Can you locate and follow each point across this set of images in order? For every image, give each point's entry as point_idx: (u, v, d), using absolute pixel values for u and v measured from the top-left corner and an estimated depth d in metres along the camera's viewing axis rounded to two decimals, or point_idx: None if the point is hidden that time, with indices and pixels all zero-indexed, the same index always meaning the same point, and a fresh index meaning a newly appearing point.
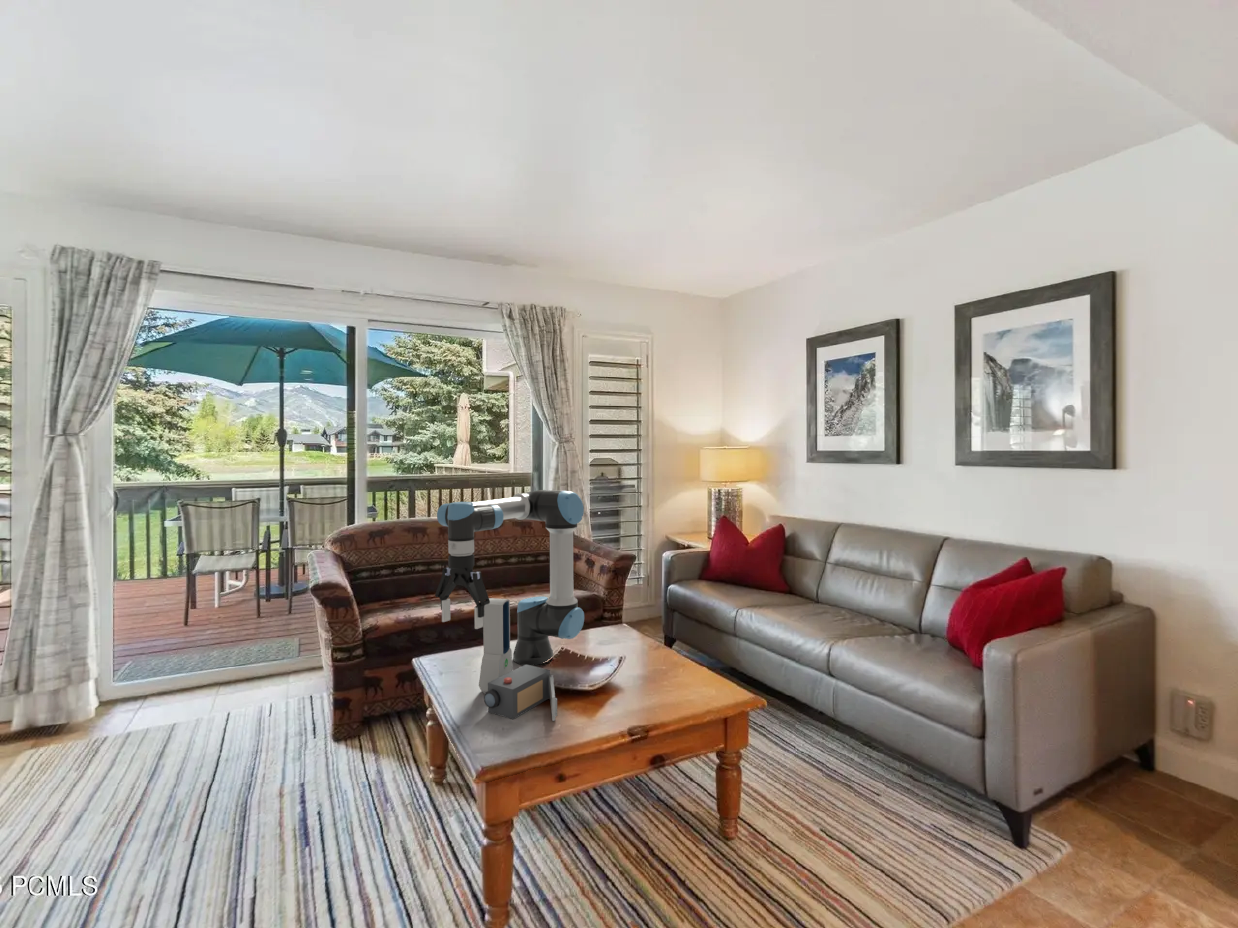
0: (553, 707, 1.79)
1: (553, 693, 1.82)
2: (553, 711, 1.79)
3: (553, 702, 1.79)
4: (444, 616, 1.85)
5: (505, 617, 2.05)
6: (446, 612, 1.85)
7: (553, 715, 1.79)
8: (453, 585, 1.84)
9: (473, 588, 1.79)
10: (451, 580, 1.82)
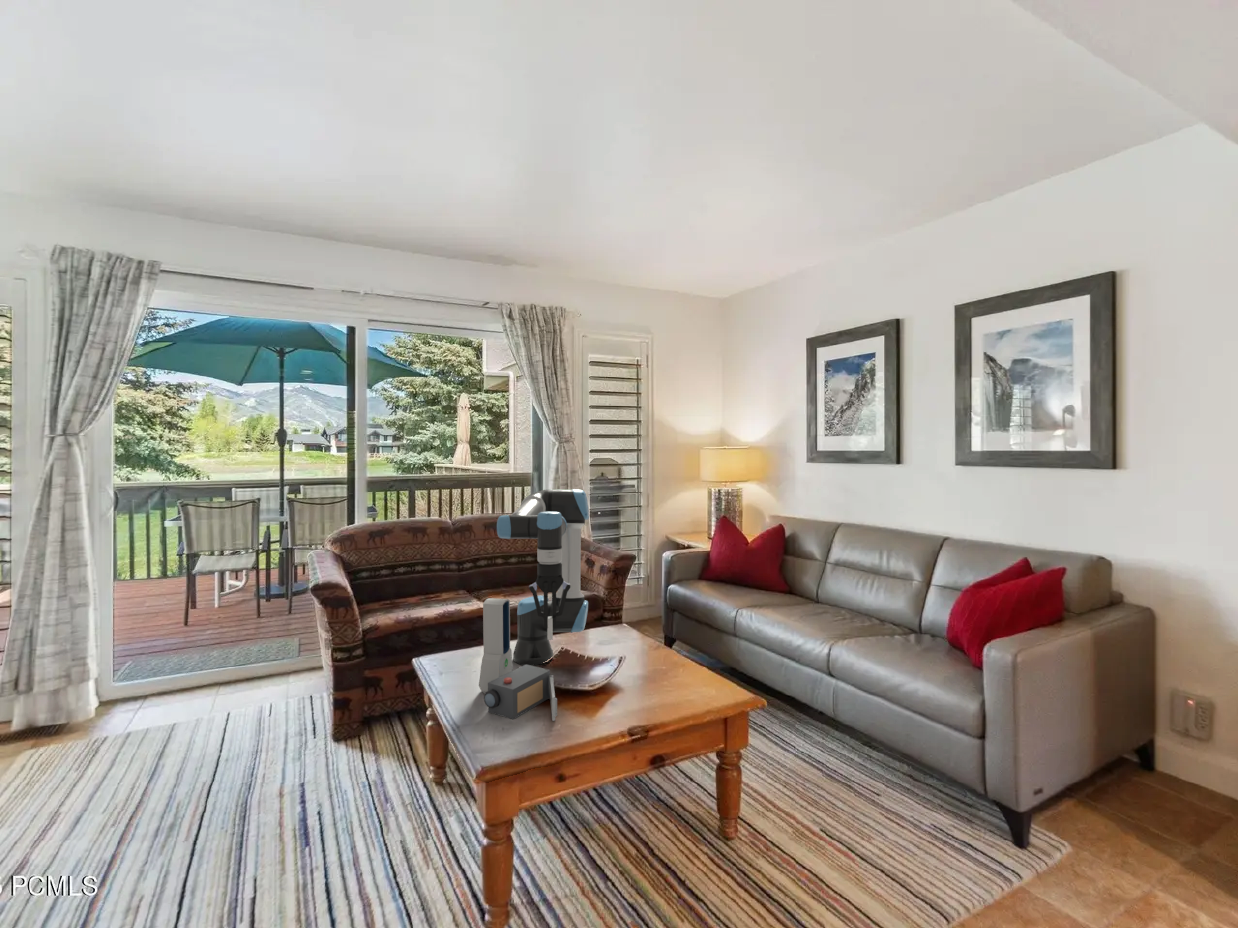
0: (553, 707, 1.79)
1: (553, 693, 1.82)
2: (553, 711, 1.79)
3: (553, 702, 1.79)
4: None
5: (505, 617, 2.05)
6: None
7: (553, 715, 1.79)
8: None
9: (555, 598, 1.87)
10: (546, 590, 1.85)
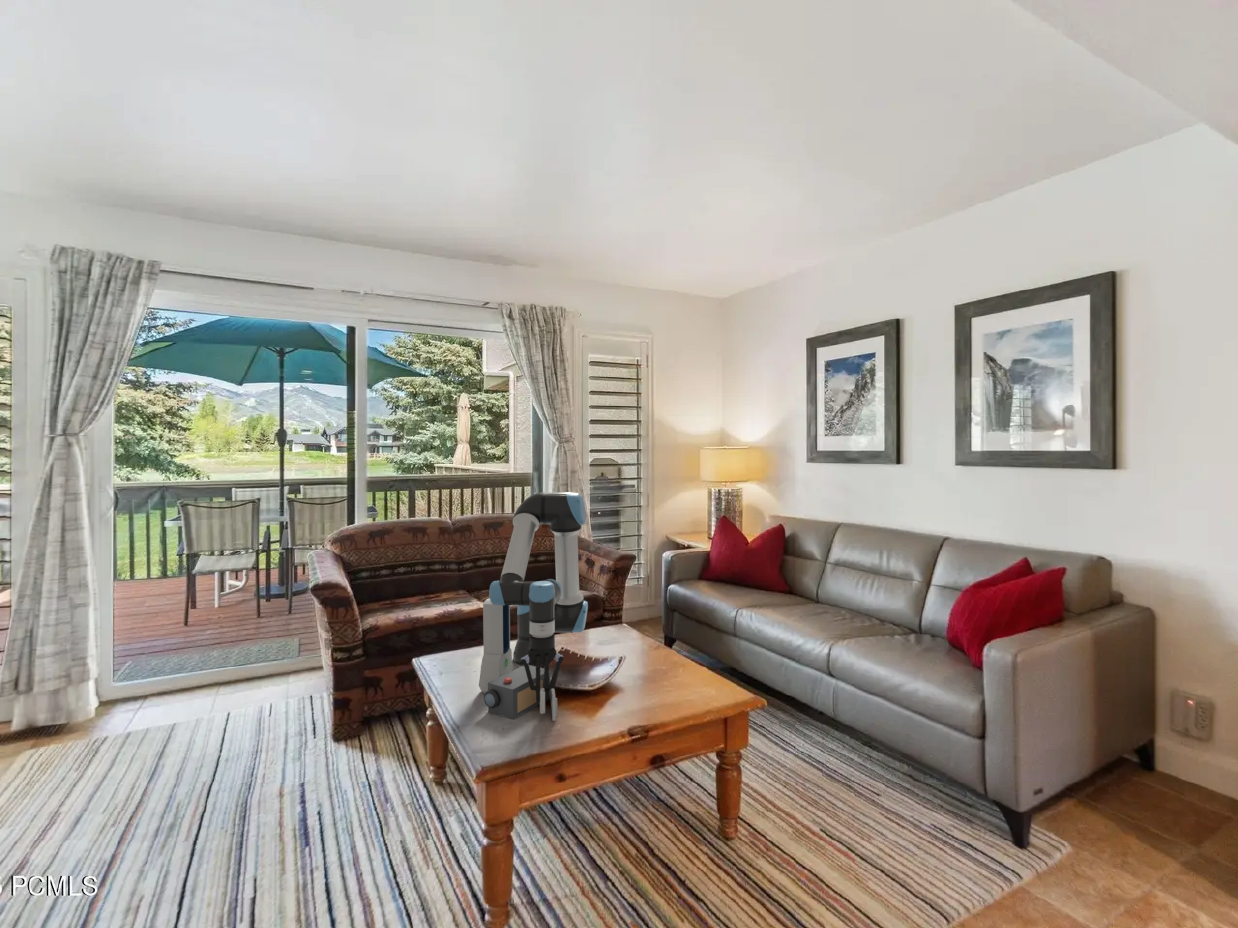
0: (553, 707, 1.79)
1: (553, 693, 1.82)
2: (553, 711, 1.79)
3: (553, 702, 1.79)
4: None
5: (505, 617, 2.05)
6: None
7: (553, 715, 1.79)
8: None
9: None
10: (538, 663, 1.81)
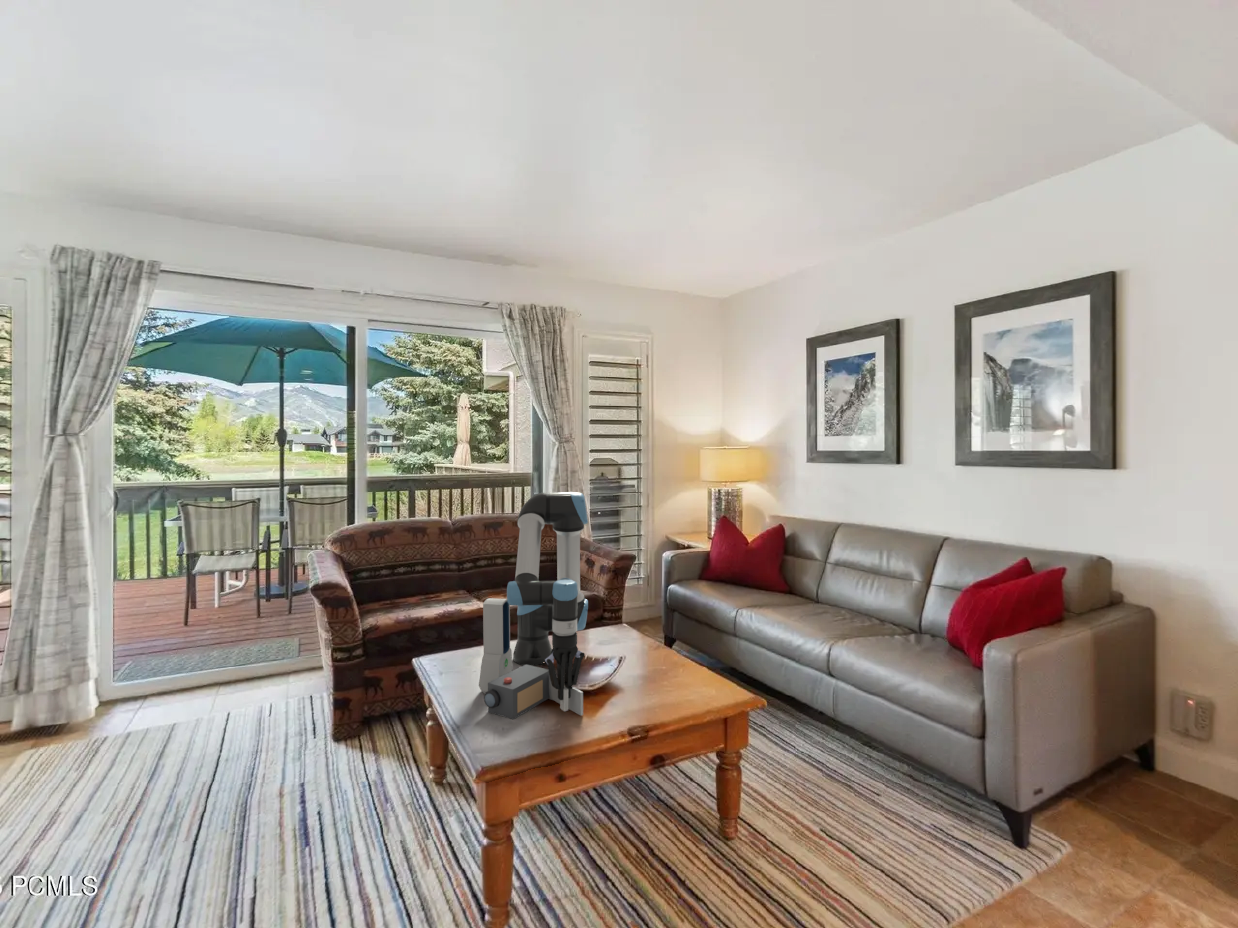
0: (581, 702, 1.83)
1: (576, 689, 1.85)
2: (581, 706, 1.83)
3: (581, 697, 1.83)
4: None
5: (505, 617, 2.05)
6: None
7: (581, 709, 1.83)
8: None
9: None
10: (563, 662, 1.82)
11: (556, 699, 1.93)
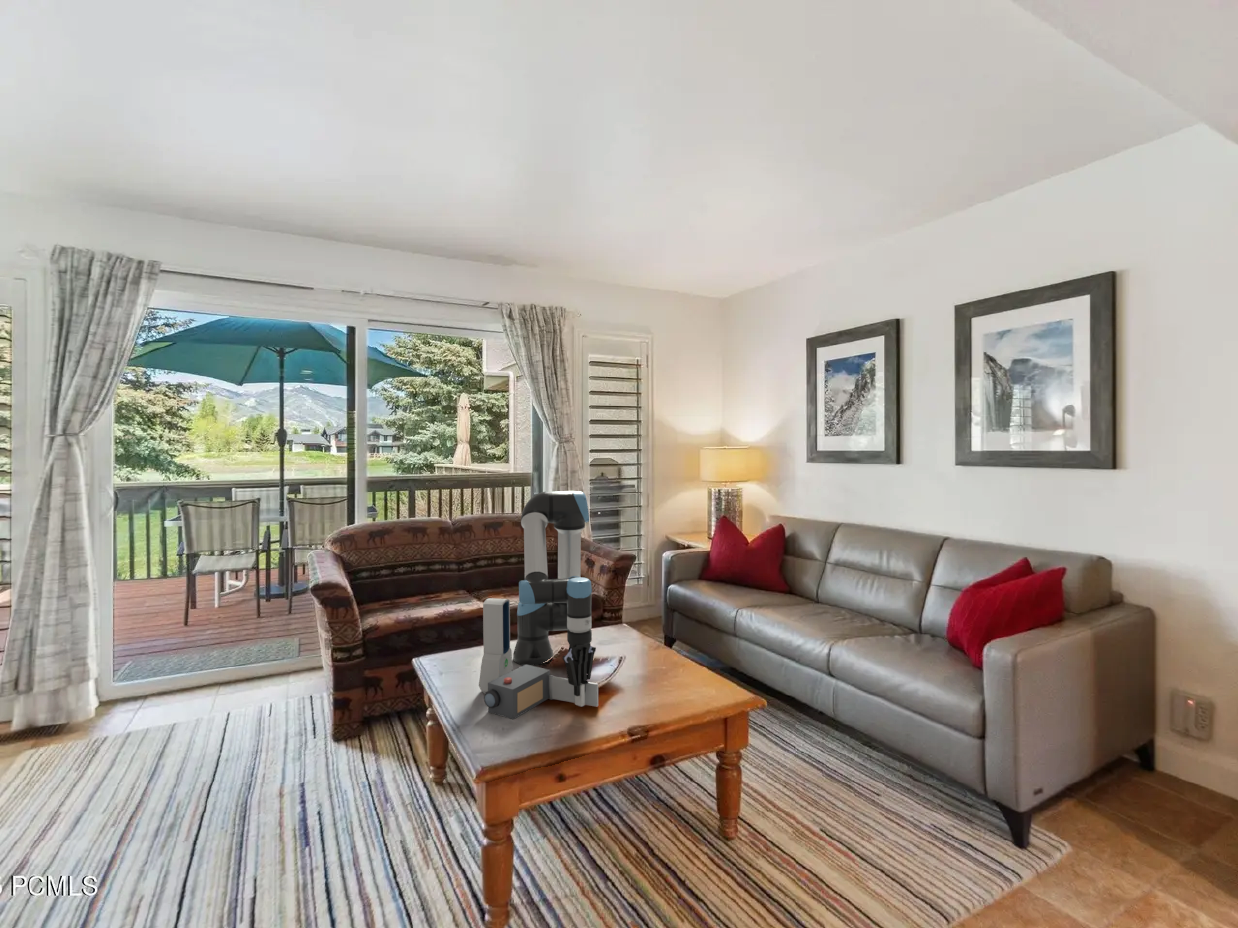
0: (597, 693, 1.89)
1: (589, 682, 1.90)
2: (597, 697, 1.89)
3: (597, 688, 1.89)
4: None
5: (505, 617, 2.05)
6: None
7: (597, 701, 1.89)
8: None
9: None
10: (580, 658, 1.85)
11: (560, 697, 1.94)
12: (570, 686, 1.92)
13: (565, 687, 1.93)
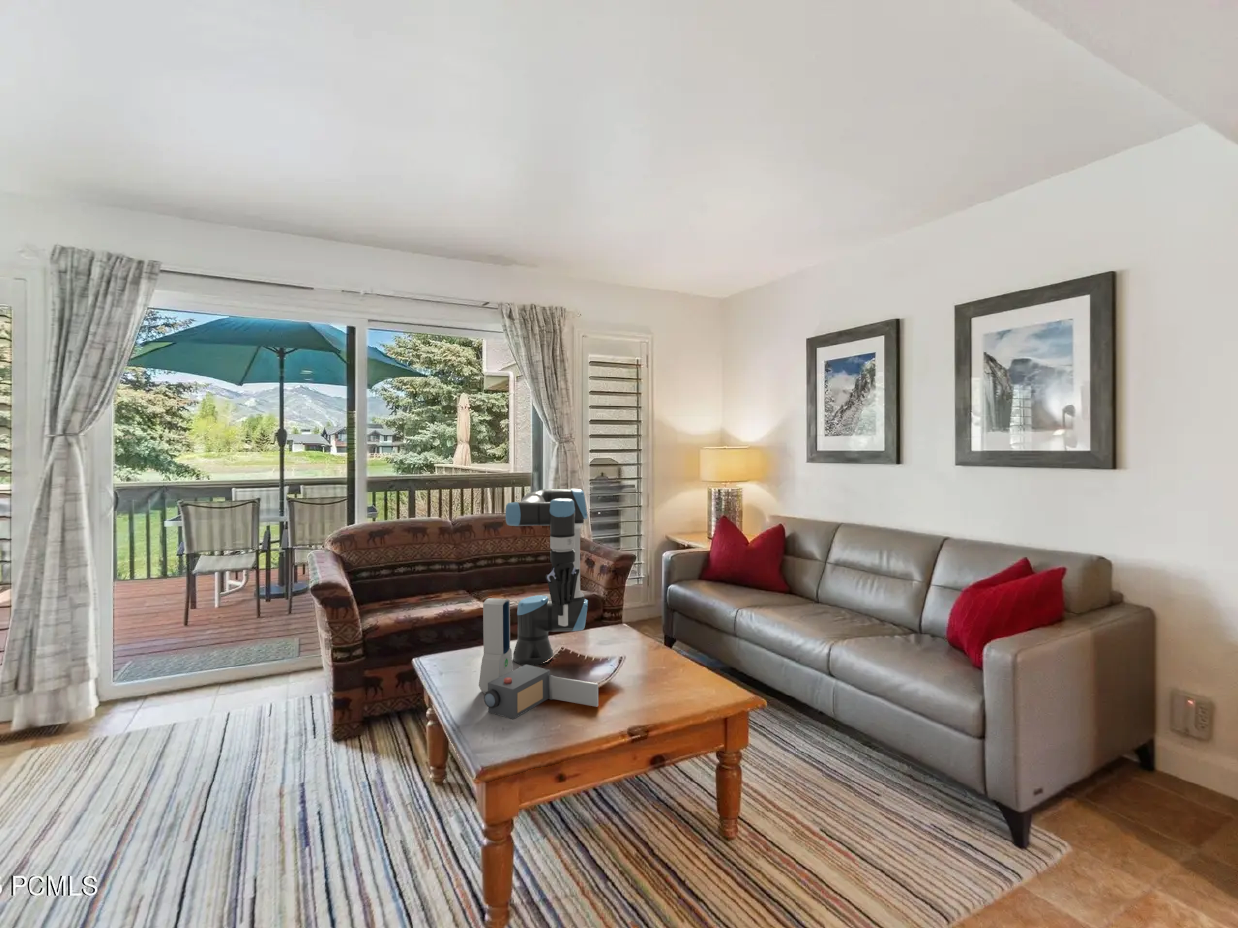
0: (597, 693, 1.89)
1: (589, 682, 1.90)
2: (597, 697, 1.89)
3: (597, 688, 1.89)
4: None
5: (505, 617, 2.05)
6: None
7: (597, 701, 1.89)
8: None
9: None
10: (563, 578, 1.85)
11: (560, 697, 1.94)
12: (570, 686, 1.92)
13: (565, 687, 1.93)
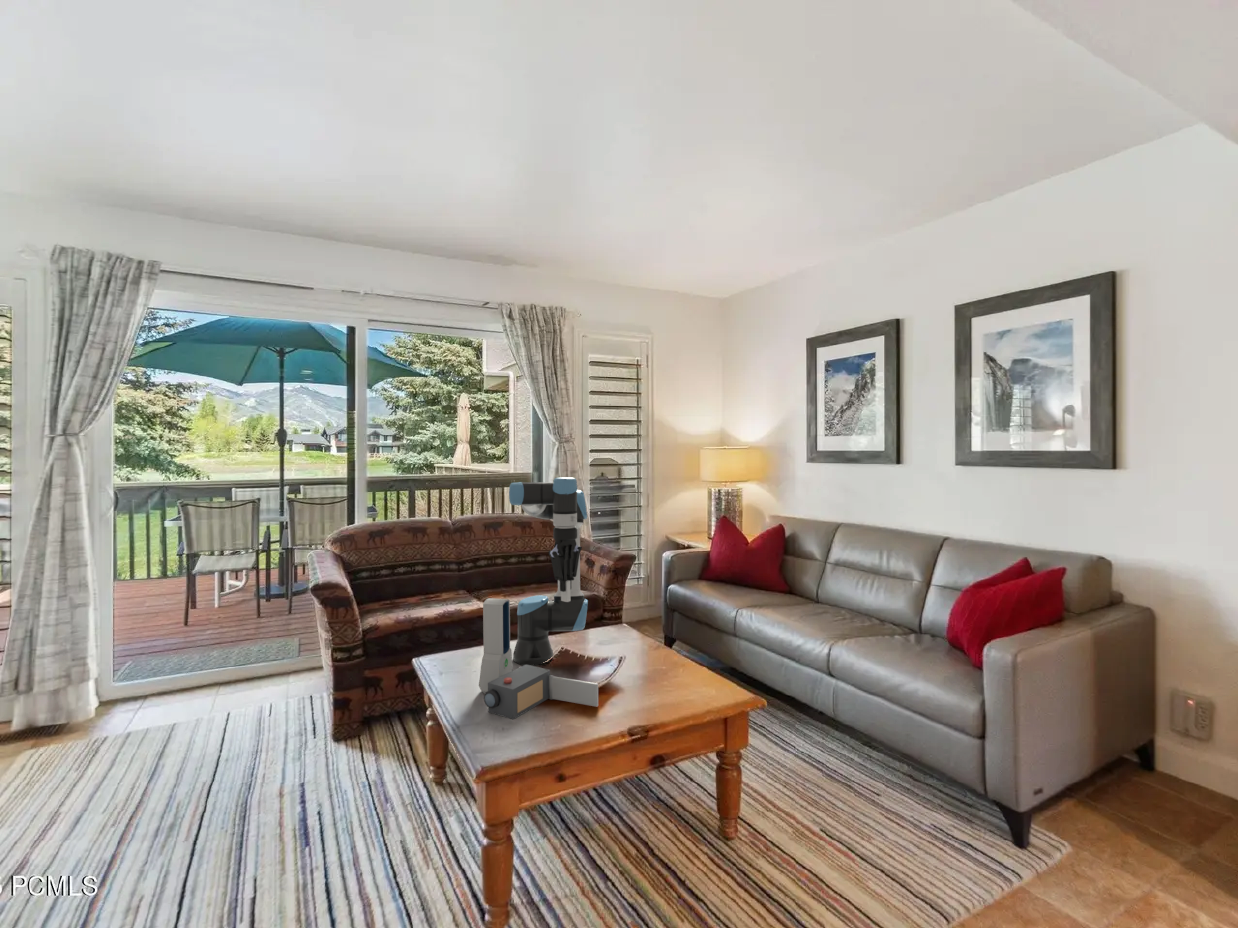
0: (597, 693, 1.89)
1: (589, 682, 1.90)
2: (597, 697, 1.89)
3: (597, 688, 1.89)
4: None
5: (505, 617, 2.05)
6: None
7: (597, 701, 1.89)
8: None
9: None
10: (566, 554, 1.90)
11: (560, 697, 1.94)
12: (570, 686, 1.92)
13: (565, 687, 1.93)
